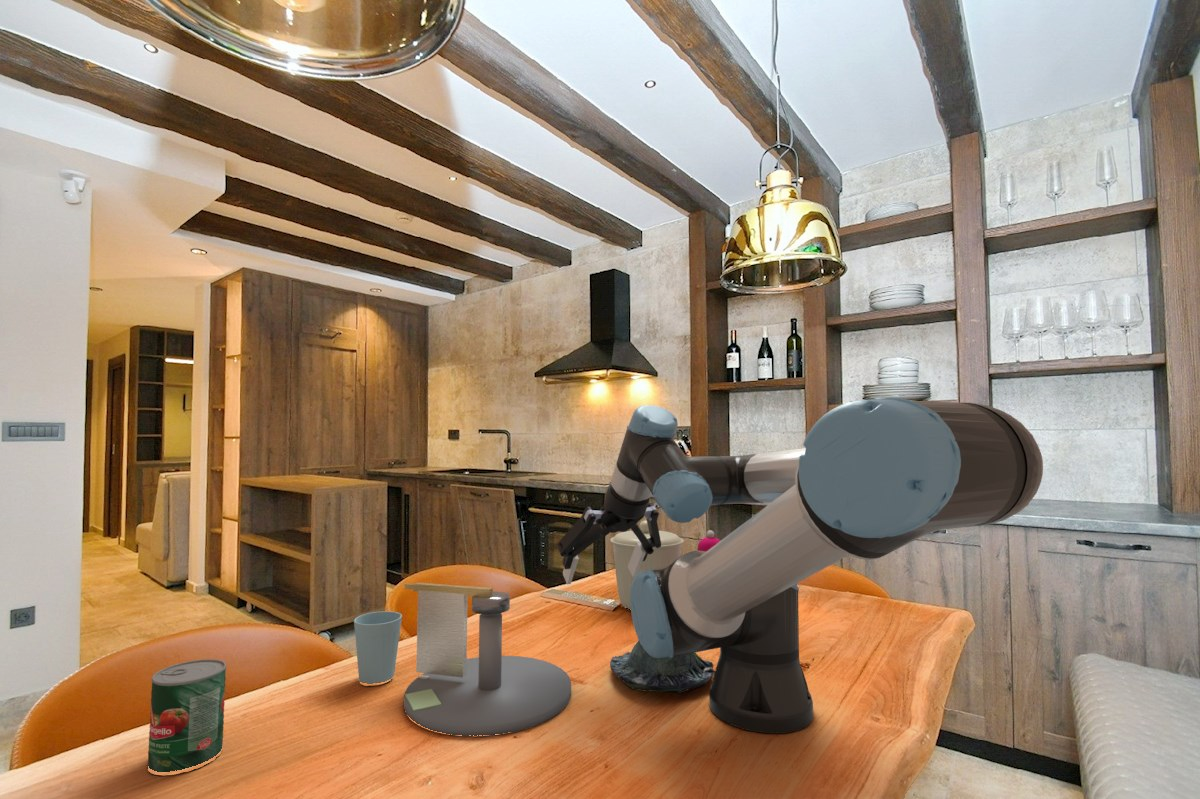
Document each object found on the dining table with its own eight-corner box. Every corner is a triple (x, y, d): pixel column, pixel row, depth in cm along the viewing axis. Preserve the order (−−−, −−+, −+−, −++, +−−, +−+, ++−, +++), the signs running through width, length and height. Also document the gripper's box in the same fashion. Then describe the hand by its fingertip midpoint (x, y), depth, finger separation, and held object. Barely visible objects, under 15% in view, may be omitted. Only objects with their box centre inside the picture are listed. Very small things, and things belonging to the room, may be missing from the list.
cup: (345, 691, 94) (348, 625, 94) (358, 672, 101) (361, 611, 102) (394, 688, 95) (396, 623, 95) (403, 670, 102) (405, 610, 103)
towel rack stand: (514, 673, 94) (515, 585, 95) (499, 689, 88) (500, 594, 89) (413, 662, 99) (415, 578, 100) (392, 676, 93) (394, 586, 94)
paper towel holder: (597, 714, 86) (597, 627, 87) (415, 753, 75) (417, 654, 76) (540, 655, 109) (540, 588, 110) (395, 679, 98) (397, 604, 99)
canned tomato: (236, 742, 78) (239, 658, 78) (197, 776, 70) (201, 682, 71) (175, 743, 77) (180, 659, 78) (130, 777, 69) (135, 683, 70)
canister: (601, 615, 135) (601, 524, 136) (620, 595, 152) (620, 514, 153) (678, 622, 129) (677, 527, 131) (689, 601, 147) (688, 517, 148)
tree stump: (718, 661, 108) (721, 572, 104) (710, 739, 89) (712, 633, 85) (623, 647, 112) (622, 561, 109) (595, 718, 93) (594, 617, 90)
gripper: (682, 472, 107) (649, 554, 117) (556, 476, 96) (532, 565, 106) (701, 499, 101) (665, 583, 111) (569, 506, 91) (542, 598, 101)
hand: (600, 575), depth 109 cm, fingers open, 13 cm apart
